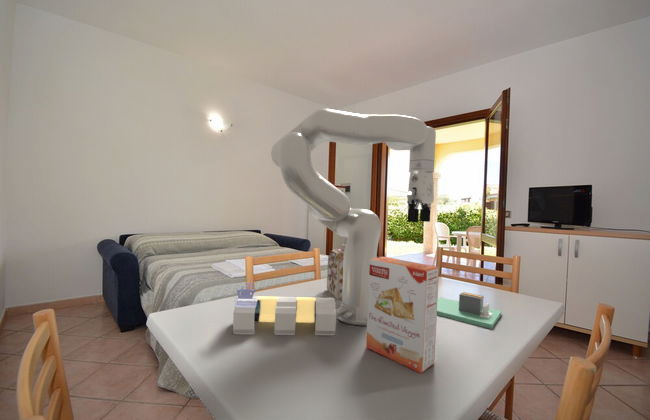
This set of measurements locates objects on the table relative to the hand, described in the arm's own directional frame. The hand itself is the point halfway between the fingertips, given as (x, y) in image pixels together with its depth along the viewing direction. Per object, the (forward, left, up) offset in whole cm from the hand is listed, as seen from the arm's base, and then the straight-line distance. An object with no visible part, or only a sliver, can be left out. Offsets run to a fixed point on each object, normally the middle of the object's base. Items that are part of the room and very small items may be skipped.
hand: (419, 221), depth 95 cm
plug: (+9, -14, -27) cm, 32 cm away
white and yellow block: (-38, +20, -29) cm, 51 cm away
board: (+9, -12, -28) cm, 32 cm away
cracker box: (-31, -9, -29) cm, 43 cm away
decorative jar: (-1, +26, -29) cm, 39 cm away
